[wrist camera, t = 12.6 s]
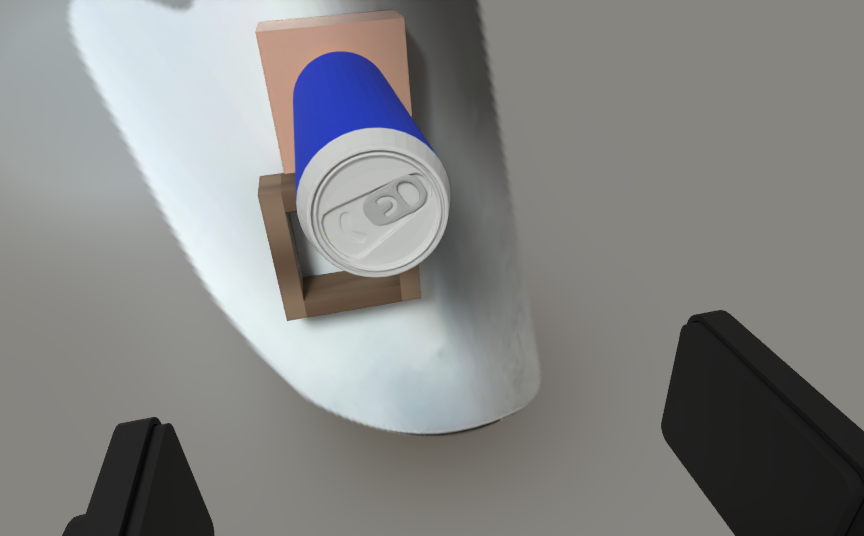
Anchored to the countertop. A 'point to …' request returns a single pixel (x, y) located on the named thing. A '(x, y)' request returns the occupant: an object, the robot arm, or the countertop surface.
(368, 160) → the beverage can
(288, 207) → the block
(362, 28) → the stand
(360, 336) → the countertop surface
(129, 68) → the countertop surface
